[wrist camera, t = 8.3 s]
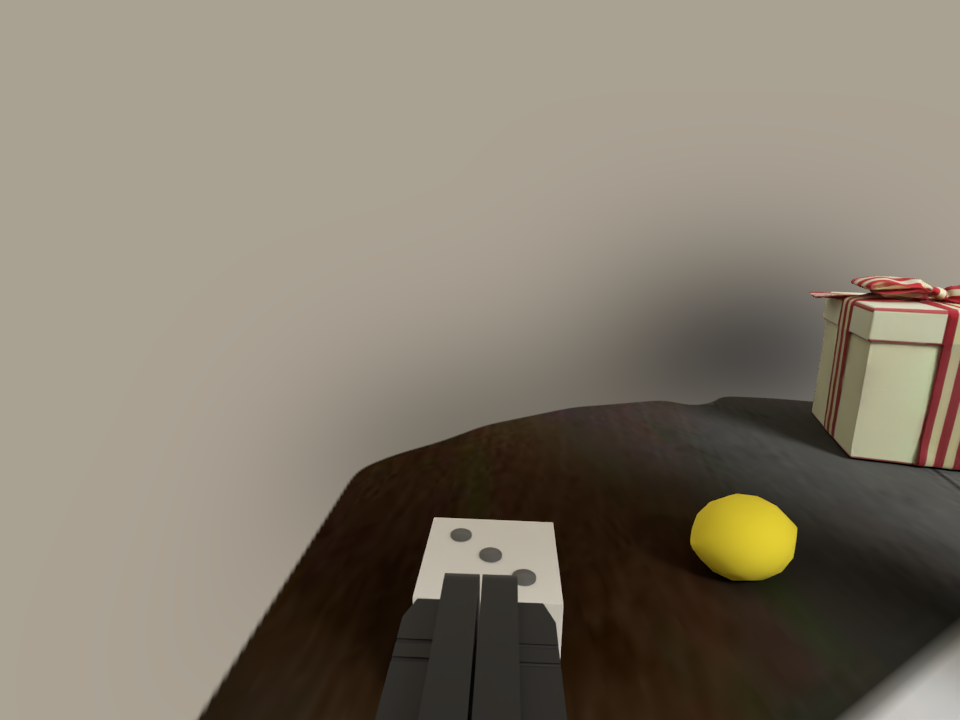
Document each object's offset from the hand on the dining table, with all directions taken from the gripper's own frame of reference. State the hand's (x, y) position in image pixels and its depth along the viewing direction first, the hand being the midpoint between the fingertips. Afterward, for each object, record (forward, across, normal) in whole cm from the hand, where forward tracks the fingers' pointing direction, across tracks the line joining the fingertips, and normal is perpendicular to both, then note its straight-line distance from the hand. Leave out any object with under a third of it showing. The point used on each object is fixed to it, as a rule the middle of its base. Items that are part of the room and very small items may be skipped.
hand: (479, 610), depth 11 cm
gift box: (+48, -42, +15) cm, 65 cm away
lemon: (+22, -16, +15) cm, 31 cm away
